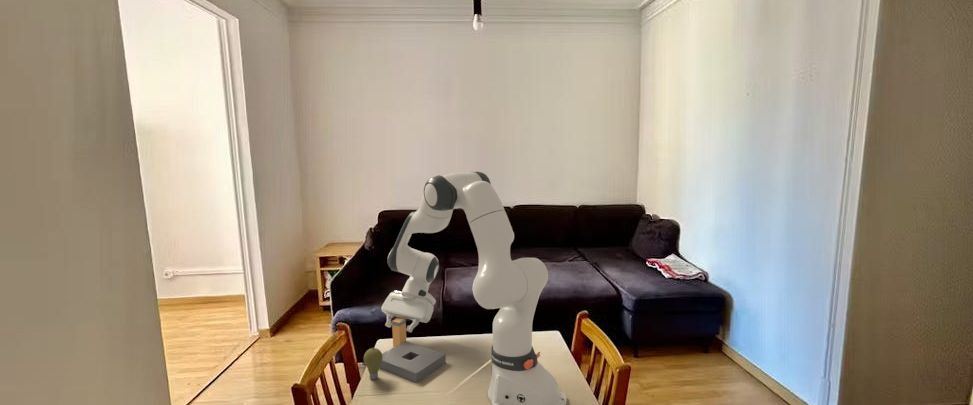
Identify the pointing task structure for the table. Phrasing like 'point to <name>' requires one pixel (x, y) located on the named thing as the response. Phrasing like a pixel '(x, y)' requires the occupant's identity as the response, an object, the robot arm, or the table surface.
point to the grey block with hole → (411, 361)
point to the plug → (399, 331)
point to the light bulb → (373, 361)
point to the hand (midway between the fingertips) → (397, 328)
